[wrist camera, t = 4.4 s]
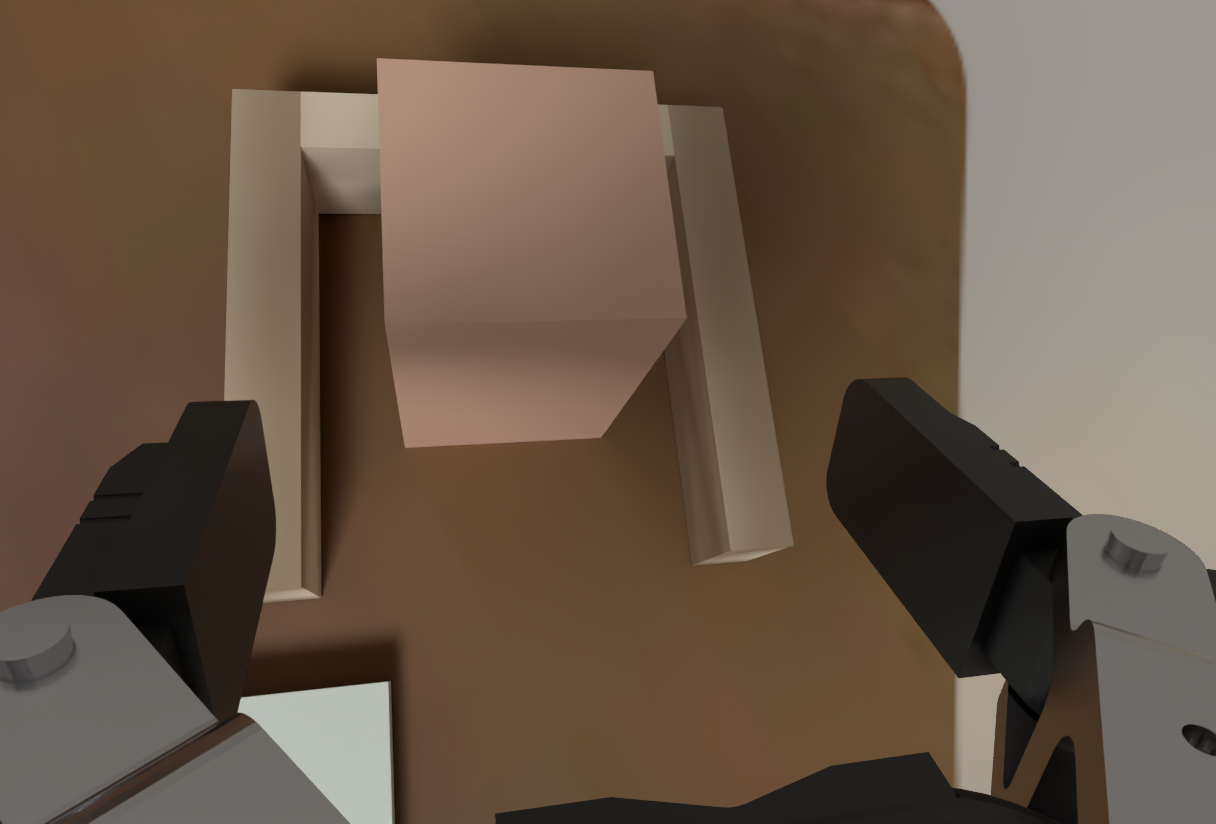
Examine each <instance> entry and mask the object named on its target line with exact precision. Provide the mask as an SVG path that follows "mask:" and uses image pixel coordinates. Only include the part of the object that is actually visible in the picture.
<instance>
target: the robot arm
mask: <svg viewBox="0 0 1216 824" xmlns="http://www.w3.org/2000/svg"><path fill="white" fill-rule="evenodd" d="M827 494H828V499H829V502H830V505H831V508H832V510H833V512H834V514H835V515H836V517H837V518H838V519H839V521H840V522H841V523H842V525H843V526H844V527H845V529H846V530H847V531H848V533H849V534H850V535H851V536H852V538H853V539H854V540H855V542H856V543H857V544H858V546H859V547H860V548H861V550H862V551H863V552H864V554H865V555H866V556H867V558H868V559H869V560H870V562H871V563H872V564H873V566H874V567H875V568H876V570H877V571H878V572H879V574H880V575H881V576H882V577H883V579H884V580H885V581H886V583H887V584H888V585H889V587H890V588H891V589H892V591H893V592H894V593H895V595H896V596H897V597H898V599H899V600H900V601H901V603H902V604H903V605H904V607H905V608H906V609H907V611H908V612H909V613H910V615H911V616H912V617H913V618H914V620H915V621H916V622H917V624H918V625H919V626H920V628H921V629H922V630H923V632H924V633H925V634H926V636H927V637H928V638H929V640H930V641H931V642H932V644H933V645H934V646H935V648H936V649H937V650H938V652H939V653H940V654H941V656H942V657H943V658H944V659H945V661H946V662H947V663H948V665H949V666H950V667H951V669H952V670H953V671H954V673H955V674H956V675H957V677H958V678H964V677H972V676H980V675H989V674H997V673H1001V674H1002V676H1003V677H1004V678H1005V679H1006V681H1005V683H1004V686H1003V688H1002V690H1001V693H1000V695H999V698H998V703H997V714H996V728H995V742H994V757H993V771H992V785H991V795H987V794H983V793H978V792H973V791H968V790H963V789H957V788H952V787H951V786H950V784H949V783H948V781H947V780H946V778H945V777H944V775H943V774H942V772H941V770H940V769H939V767H938V766H937V764H936V763H935V761H934V760H933V758H932V757H931V755H930V753H929V752H925V753H918V754H911V755H904V756H897V757H890V758H883V759H876V760H869V761H862V762H855V763H848V764H841V765H834V766H830V767H827V768H825V769H823V770H821V771H818V772H816V773H814V774H812V775H809V776H807V777H805V778H803V779H800V780H798V781H796V782H794V783H791V784H789V785H787V786H785V787H782V788H780V789H778V790H776V791H773V792H771V793H769V794H767V795H764V796H762V797H760V798H758V799H755V800H753V801H751V802H749V803H746V804H744V805H741V806H737V807H731V808H726V807H711V806H701V805H690V804H679V803H668V802H657V801H646V800H636V799H625V798H614V797H609V798H602V799H595V800H588V801H581V802H574V803H567V804H560V805H553V806H546V807H539V808H532V809H525V810H518V811H511V812H504V813H497V814H495V824H1216V570H1210V569H1206V568H1205V565H1204V564H1203V562H1202V561H1201V559H1200V558H1199V557H1198V556H1197V555H1196V554H1195V553H1194V552H1193V551H1192V550H1191V549H1190V548H1188V547H1187V546H1186V545H1185V544H1183V543H1182V542H1180V541H1179V540H1177V539H1176V538H1174V537H1172V536H1170V535H1169V534H1167V533H1165V532H1163V531H1161V530H1158V529H1157V528H1154V527H1152V526H1149V525H1147V524H1144V523H1141V522H1138V521H1135V520H1132V519H1128V518H1123V517H1119V516H1112V515H1104V514H1091V515H1084V516H1083V515H1082V514H1081V513H1079V512H1078V511H1077V510H1076V509H1075V508H1073V507H1072V506H1071V505H1070V504H1069V503H1067V502H1066V501H1065V500H1064V499H1062V498H1061V497H1060V496H1059V495H1058V494H1057V493H1055V492H1054V491H1053V490H1052V489H1050V488H1049V487H1048V486H1047V485H1046V484H1045V483H1043V482H1042V481H1041V480H1040V479H1039V478H1037V477H1036V476H1035V475H1034V474H1033V473H1031V472H1030V471H1029V470H1028V469H1027V468H1025V467H1020V466H1019V462H1018V461H1017V460H1016V459H1015V458H1013V457H1012V456H1011V455H1010V454H1009V453H1007V452H1006V451H1005V450H999V445H998V444H997V443H995V442H994V441H993V440H992V439H991V438H989V437H988V436H987V435H986V434H985V433H983V432H982V431H981V430H980V429H979V428H977V427H976V426H975V425H973V424H971V423H969V422H967V421H965V420H963V419H961V418H959V417H957V416H955V415H953V414H951V413H949V412H948V411H947V410H946V409H945V408H944V407H942V406H941V405H940V404H939V403H938V402H936V401H935V400H934V399H933V398H932V397H931V396H929V395H928V394H927V393H926V392H925V391H924V390H922V389H921V388H920V387H919V386H918V385H917V384H915V383H914V382H913V381H912V380H910V379H908V378H878V379H857V380H854V381H853V382H852V383H851V384H850V385H849V386H848V388H847V390H846V393H845V396H844V399H843V404H842V408H841V413H840V417H839V422H838V426H837V431H836V435H835V440H834V444H833V448H832V453H831V457H830V462H829V466H828V471H827ZM93 496H94V501H90V502H89V504H88V505H87V507H86V509H85V510H84V512H83V514H82V516H81V517H80V524H76V526H75V527H74V529H73V531H72V532H71V534H70V536H69V538H68V539H67V541H66V543H65V544H64V546H63V548H62V549H61V551H60V553H59V555H58V556H57V558H56V560H55V561H54V563H53V565H52V566H51V568H50V570H49V571H48V573H47V575H46V577H45V578H44V580H43V582H42V583H41V585H40V587H39V588H38V590H37V592H36V593H35V595H34V597H33V599H32V600H31V601H30V602H27V603H23V604H20V605H17V606H15V607H12V608H9V609H7V610H4V611H2V612H0V824H350V823H349V821H348V820H347V819H346V818H345V817H344V816H343V815H342V814H341V813H340V812H339V811H338V810H337V808H336V807H335V806H334V805H333V804H332V803H331V802H330V801H329V800H328V799H327V798H326V796H325V795H324V794H323V793H322V792H321V791H320V790H319V789H318V788H317V787H316V786H315V785H314V783H313V782H312V781H311V780H310V779H309V778H308V777H307V776H306V775H305V774H304V773H303V771H302V770H301V769H300V768H299V767H298V766H297V765H296V764H295V763H294V762H293V761H292V760H291V758H290V757H289V756H288V755H287V754H286V753H285V752H284V751H283V750H282V749H281V748H280V746H279V745H278V744H277V743H276V742H275V741H274V740H273V739H272V738H271V737H270V736H269V735H268V733H267V732H266V731H265V730H264V729H263V728H262V727H261V726H260V725H259V724H258V723H257V722H256V721H255V720H253V719H252V718H251V717H250V716H248V715H246V714H244V713H240V712H239V713H238V708H239V704H240V700H241V695H242V691H243V687H244V682H245V678H246V674H247V669H248V665H249V661H250V656H251V652H252V648H253V643H254V639H255V635H256V630H257V626H258V622H259V617H260V613H261V609H262V604H263V600H264V596H265V591H266V587H267V583H268V578H269V574H270V570H271V565H272V561H273V557H274V552H275V544H276V511H275V502H274V496H273V489H272V483H271V476H270V470H269V463H268V457H267V450H266V444H265V437H264V431H263V424H262V418H261V413H260V409H259V406H258V404H257V402H256V401H255V400H233V401H205V402H190V403H188V405H187V406H186V408H185V410H184V412H183V414H182V416H181V418H180V420H179V422H178V424H177V426H176V428H175V430H174V432H173V434H172V436H171V438H170V440H169V442H168V443H147V444H142V445H140V446H139V447H138V448H136V449H135V450H133V451H132V452H131V453H129V454H128V455H127V456H125V457H124V458H123V459H121V460H120V461H118V462H117V463H116V464H114V465H113V466H112V467H110V468H109V470H108V472H107V473H106V475H105V477H104V478H103V480H102V482H101V483H100V485H99V487H98V488H97V490H96V492H95V494H94V495H93Z"/></svg>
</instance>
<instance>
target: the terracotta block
mask: <svg viewBox="0 0 1216 824" xmlns="http://www.w3.org/2000/svg"><path fill="white" fill-rule="evenodd" d="M377 82H378V115H379V149H380V183H381V216H382V250H383V283H384V317H385V329H386V335H387V341H388V347H389V353H390V360H391V366H392V372H393V378H394V384H395V390H396V396H397V402H398V409H399V415H400V421H401V427H402V433H403V439H404V445H405V448H409V447H428V446H448V445H468V444H487V443H507V442H527V441H546V440H566V439H586V438H601V437H602V436H603V434H604V433H605V432H606V430H607V429H608V427H609V426H610V425H611V423H612V422H613V420H614V419H615V418H616V416H617V415H618V414H619V412H620V411H621V409H622V408H623V407H624V405H625V404H626V402H627V401H628V400H629V398H630V397H631V395H632V394H633V393H634V391H635V390H636V388H637V387H638V386H639V384H640V383H641V381H642V380H643V379H644V377H645V376H646V374H647V373H648V372H649V370H650V369H651V368H652V366H653V365H654V363H655V362H656V361H657V359H658V358H659V356H660V355H661V354H662V352H663V351H664V349H665V348H666V347H667V345H668V344H669V342H670V341H671V340H672V338H673V337H674V335H675V334H676V333H677V331H678V330H679V328H680V327H681V326H682V324H683V323H684V322H685V320H686V319H687V316H686V309H685V301H684V294H683V287H682V279H681V272H680V265H679V257H678V250H677V243H676V235H675V228H674V221H673V213H672V206H671V199H670V191H669V184H668V177H667V170H666V162H665V155H664V148H663V140H662V133H661V126H660V118H659V111H658V104H657V96H656V89H655V82H654V74H653V71H640V70H619V69H597V68H576V67H554V66H533V65H511V64H489V63H468V62H446V61H425V60H403V59H382V58H377Z"/></svg>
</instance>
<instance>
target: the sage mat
mask: <svg viewBox="0 0 1216 824" xmlns="http://www.w3.org/2000/svg"><path fill="white" fill-rule="evenodd" d="M239 712H240V713H244V714H246V715H248V716H250V717H251V718H252V719H253V720H255V721H256V722H257V723H258V724H259V725H260V726H261V727H262V728H263V729H264V730H265V731H266V732H267V733H268V735H269V736H270V737H271V738H272V739H273V740H274V741H275V742H276V743H277V744H278V745H279V746H280V748H281V749H282V750H283V751H284V752H285V753H286V754H287V755H288V756H289V757H290V758H291V760H292V761H293V762H294V763H295V764H296V765H297V766H298V767H299V768H300V769H301V770H302V771H303V773H304V774H305V775H306V776H307V777H308V778H309V779H310V780H311V781H312V782H313V783H314V785H315V786H316V787H317V788H318V789H319V790H320V791H321V792H322V793H323V794H324V795H325V796H326V798H327V799H328V800H329V801H330V802H331V803H332V804H333V805H334V806H335V807H336V808H337V810H338V811H339V812H340V813H341V814H342V815H343V816H344V817H345V818H346V819H347V820H348V821H349V823H350V824H395V806H394V772H393V737H392V703H391V681H384V682H375V683H366V684H357V685H348V686H339V687H329V688H320V689H311V690H302V691H293V692H284V693H275V694H265V695H256V696H247V697H241V700H240V704H239V708H238V713H239Z"/></svg>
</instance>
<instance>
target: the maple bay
mask: <svg viewBox="0 0 1216 824" xmlns="http://www.w3.org/2000/svg"><path fill="white" fill-rule="evenodd" d="M658 111H659V118H660V126H661V133H662V140H663V148H664V155H665V162H666V170H667V177H668V184H669V191H670V199H671V206H672V213H673V221H674V228H675V235H676V243H677V250H678V257H679V265H680V272H681V279H682V287H683V294H684V301H685V309H686V316H687V319H686V320H685V322H684V323H683V324H682V326H681V327H680V328H679V330H678V331H677V333H676V334H675V335H674V337H673V338H672V340H671V341H670V342H669V344H668V345H667V347H666V348H665V349H664V352H665V360H666V368H667V376H668V384H669V391H670V399H671V407H672V415H673V423H674V430H675V438H676V446H677V454H678V462H679V469H680V477H681V485H682V493H683V501H684V508H685V516H686V524H687V532H688V540H689V547H690V555H691V563H692V566H694V565H705V564H717V563H728V562H739V561H748V560H751V559H754V558H757V557H760V556H763V555H766V554H769V553H772V552H775V551H778V550H781V549H784V548H787V547H790V546H793V545H794V544H793V538H792V531H791V525H790V519H789V513H788V507H787V501H786V494H785V488H784V482H783V476H782V470H781V464H780V458H779V451H778V445H777V439H776V433H775V427H774V421H773V414H772V408H771V402H770V396H769V390H768V384H767V378H766V371H765V365H764V359H763V353H762V347H761V341H760V335H759V328H758V322H757V316H756V310H755V304H754V298H753V291H752V285H751V279H750V273H749V267H748V261H747V255H746V248H745V242H744V236H743V230H742V224H741V218H740V212H739V205H738V199H737V193H736V187H735V181H734V175H733V168H732V162H731V156H730V150H729V144H728V138H727V132H726V125H725V119H724V113H723V107H709V106H682V105H658ZM319 214H381V183H380V149H379V115H378V94H354V93H326V92H299V91H271V90H244V89H232V120H231V159H230V198H229V238H228V277H227V316H226V355H225V394H224V401H233V400H255V401H256V402H257V404H258V406H259V409H260V413H261V418H262V424H263V431H264V437H265V444H266V450H267V457H268V463H269V470H270V476H271V483H272V489H273V496H274V502H275V511H276V544H275V552H274V557H273V561H272V565H271V570H270V574H269V578H268V583H267V587H266V591H265V596H264V600H263V603H269V602H281V601H292V600H304V599H315V598H322V595H321V460H320V325H319Z"/></svg>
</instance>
